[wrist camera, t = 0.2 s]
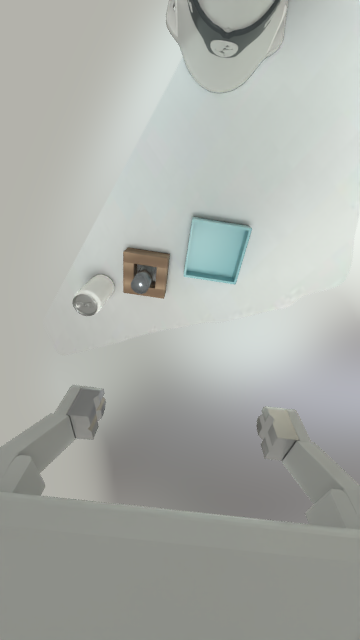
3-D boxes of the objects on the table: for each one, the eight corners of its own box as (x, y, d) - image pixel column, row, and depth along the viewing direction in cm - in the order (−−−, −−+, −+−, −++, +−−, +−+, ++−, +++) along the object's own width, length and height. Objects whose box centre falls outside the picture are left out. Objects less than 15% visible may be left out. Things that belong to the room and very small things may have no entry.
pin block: (127, 247, 54) (123, 251, 50) (169, 253, 54) (168, 258, 51) (127, 286, 59) (123, 292, 56) (165, 292, 60) (163, 298, 56)
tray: (192, 216, 49) (192, 219, 46) (248, 225, 50) (252, 228, 46) (184, 271, 56) (183, 276, 53) (232, 278, 56) (235, 284, 53)
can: (89, 273, 58) (67, 291, 48) (113, 274, 58) (96, 293, 47) (93, 295, 61) (74, 316, 51) (116, 296, 61) (101, 318, 51)
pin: (140, 262, 55) (130, 276, 47) (155, 264, 56) (149, 278, 47) (139, 276, 58) (130, 292, 49) (154, 279, 58) (148, 295, 49)
